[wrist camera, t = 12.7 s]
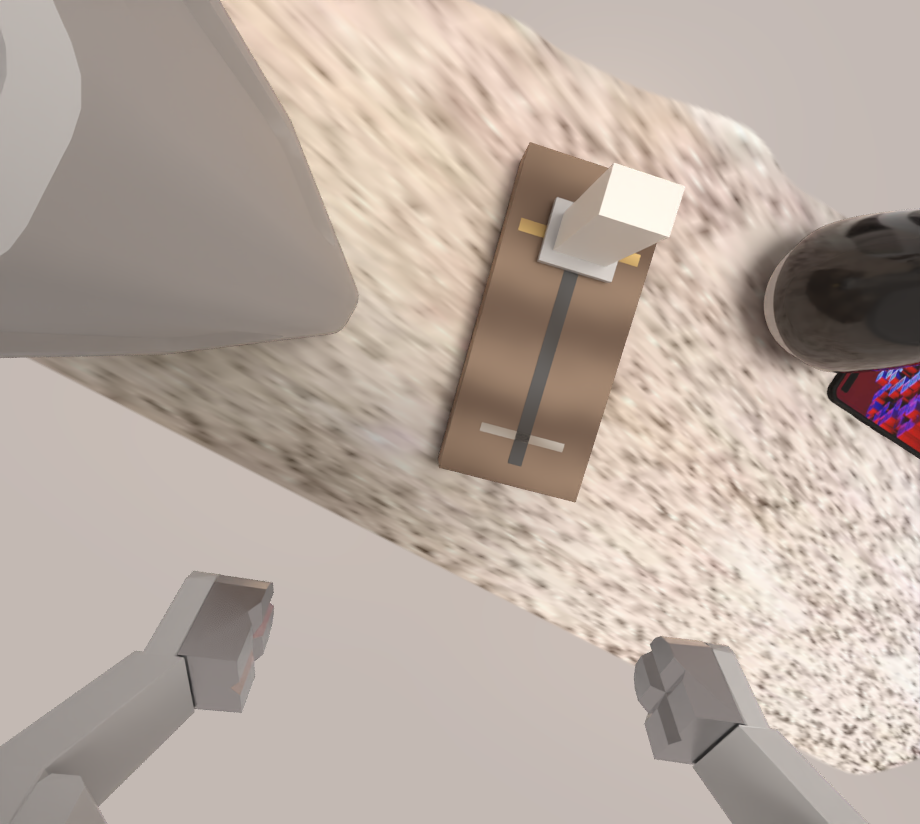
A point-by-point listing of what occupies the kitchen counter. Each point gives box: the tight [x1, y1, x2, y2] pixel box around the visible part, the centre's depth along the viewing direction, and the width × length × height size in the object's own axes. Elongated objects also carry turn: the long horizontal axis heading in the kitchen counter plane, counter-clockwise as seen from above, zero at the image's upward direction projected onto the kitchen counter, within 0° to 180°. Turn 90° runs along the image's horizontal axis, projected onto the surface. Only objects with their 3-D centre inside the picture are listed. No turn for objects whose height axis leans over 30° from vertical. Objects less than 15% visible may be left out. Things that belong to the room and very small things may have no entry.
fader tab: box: [537, 163, 685, 283], centre depth 27 cm, size 4×5×9 cm
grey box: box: [0, 0, 358, 358], centre depth 20 cm, size 19×15×28 cm
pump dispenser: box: [764, 209, 920, 373], centre depth 29 cm, size 10×10×15 cm
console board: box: [438, 142, 657, 502], centre depth 34 cm, size 22×10×3 cm, turn 164°
